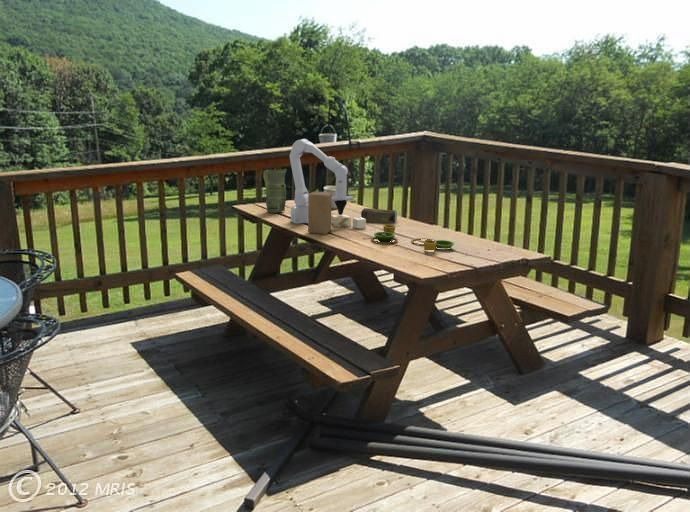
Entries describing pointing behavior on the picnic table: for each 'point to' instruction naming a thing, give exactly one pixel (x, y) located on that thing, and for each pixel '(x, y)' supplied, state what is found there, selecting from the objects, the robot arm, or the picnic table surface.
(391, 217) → the beverage carton
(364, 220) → the numbered cube seven
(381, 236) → the tableware set
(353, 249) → the picnic table surface
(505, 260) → the picnic table surface
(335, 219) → the plain block
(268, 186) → the green vase
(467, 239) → the picnic table surface
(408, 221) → the picnic table surface
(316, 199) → the block
